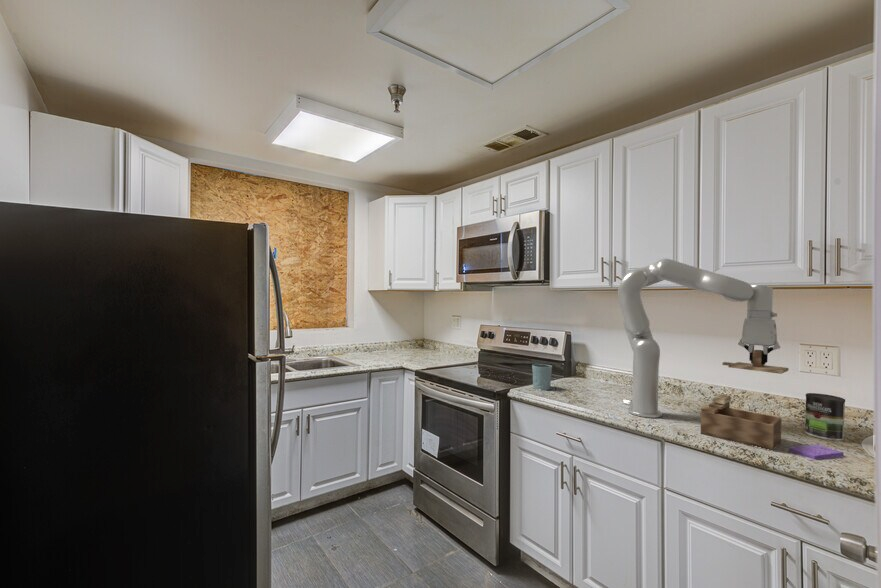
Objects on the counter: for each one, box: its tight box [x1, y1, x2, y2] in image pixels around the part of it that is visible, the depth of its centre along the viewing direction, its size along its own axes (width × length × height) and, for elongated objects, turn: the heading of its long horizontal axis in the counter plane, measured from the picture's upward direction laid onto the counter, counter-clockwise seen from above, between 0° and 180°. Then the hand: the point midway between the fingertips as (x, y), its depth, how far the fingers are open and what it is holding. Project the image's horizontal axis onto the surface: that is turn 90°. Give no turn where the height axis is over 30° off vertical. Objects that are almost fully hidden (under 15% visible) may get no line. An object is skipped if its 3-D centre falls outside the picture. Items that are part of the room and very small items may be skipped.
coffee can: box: [804, 392, 846, 442], centre depth 144 cm, size 10×10×14 cm
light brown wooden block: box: [712, 393, 731, 404], centre depth 152 cm, size 4×8×2 cm, turn 132°
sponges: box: [788, 444, 845, 461], centre depth 127 cm, size 7×13×2 cm, turn 104°
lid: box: [722, 349, 790, 375], centre depth 155 cm, size 19×14×7 cm
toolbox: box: [700, 401, 782, 451], centre depth 142 cm, size 20×20×9 cm
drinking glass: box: [531, 363, 553, 391], centre depth 209 cm, size 10×10×12 cm
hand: (758, 363), depth 153 cm, fingers closed on lid, 2 cm apart
